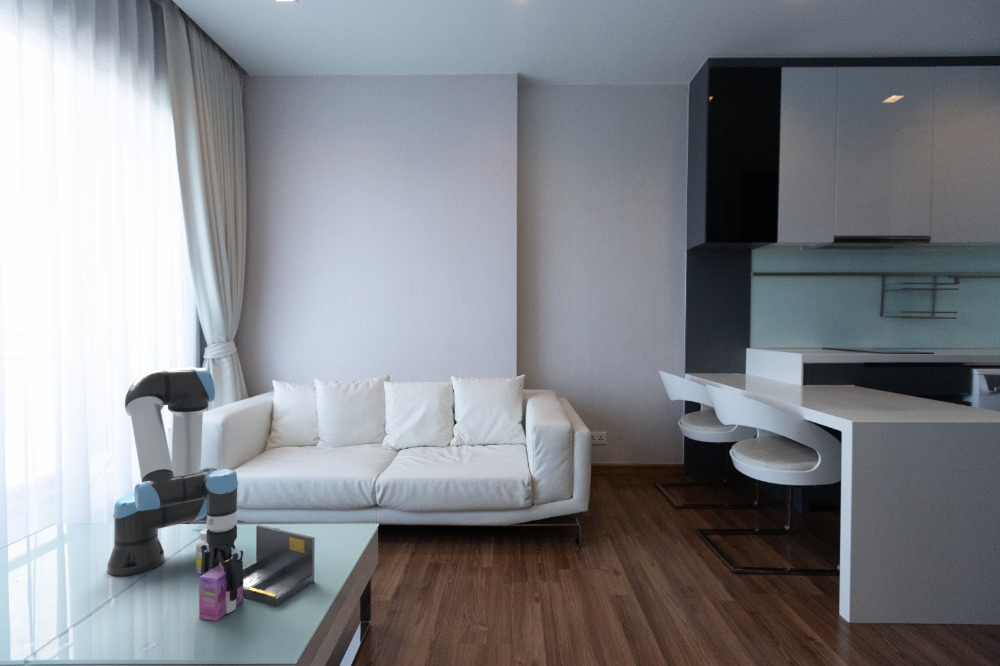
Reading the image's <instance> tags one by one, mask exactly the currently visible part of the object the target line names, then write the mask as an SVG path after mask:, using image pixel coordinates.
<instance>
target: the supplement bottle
mask: <svg viewBox="0 0 1000 666" xmlns="http://www.w3.org/2000/svg"><path fill="white" fill-rule="evenodd" d="M207 530H208V529H207V528H204V529H202V530H200V531H199V537H200V538H199V539H198V540H197V541H196V544H195V549H196V550H195V551H196V552H195V554H196V555H195V558H196V561H195V562H196V565H195V566H196V572H197V573H198V574H199V575H201V564H202V551H201V546H203V545H205V544H207Z"/></svg>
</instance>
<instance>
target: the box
mask: <svg viewBox="0 0 1000 666" xmlns="http://www.w3.org/2000/svg"><path fill="white" fill-rule="evenodd" d="M227 561H228V560H227ZM225 562H226V561H225ZM242 565H243V566H244V561H243V560H242ZM198 579H199V583H198V584H199V586H198V587H199V591H198V592H199V593H198V594H199V600H198V601H199V603H198V605H199V607H198V609H199V610H198V611H199V612H198V613H199V615H198V618H199V619H202V620H206V621H212V622H217V621H218V620H220V619H221V618H222V617H224V615H227V613H226V590H227V589H228V586H227V581H226V573H225V572H224V568H223V566H221V563H220V565H218V566H216V567H214V568H213V569H211V570H209V571H208V572H206V573H204V574H203V575H201V574H200V576H199V578H198ZM243 600H244V597H243V585H242V586H241V587H239V588H237V599H236V606H237V605H239V604H240V603H241V602H242V601H243Z"/></svg>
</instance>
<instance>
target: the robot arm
mask: <svg viewBox="0 0 1000 666" xmlns="http://www.w3.org/2000/svg"><path fill="white" fill-rule="evenodd" d="M215 396H216V389H215V383H214V379H213V375H212V374H211V372H210V371H209V369H208V368H205V367H184V368H181V367H180V368H170V369H169V368H168V369H153V370H151V371H150V370H149V371H148V372H144V373H143V374H142V375H140V376H139V377H138V378H136V379H135V380H134V381H133V383H132V384H131V385H130V386H129V388H128V391H127V392H126V394H125V397H124V398H125V399H124V407H125V412H126V414H127V415H128V416H129V417H131V425H132V431H133V437H134V441H135V449H136V455H137V460H138V467H139V472H140V473H139V474H140V479H141V482H139V483H136V484H135V486H134V490H133V492H130V493H127V494H125V495H123V496H122V497H120V498H119V499H117V500H116V501H115V504H114V509H113V515H112V516H113V519H114V523H113V525H114V530H113V531H114V533H113V534H114V535H113V538H114V541H113V543H114V544H113V548H112V551H111V553H110V556H109V560H108V561H107V569H106V570H107V573H108V574H109V575H112V576H114V577H115V576H116V577H117V576H118V577H124V576H133V575H137V574H142V573H145V572H147V571H150V570H152V569H154V568H157V567H158V566H160V565H161V564H162V563H163V562H164V560H165V551H164V548H163V545H162V544H161V541H160V538H159V530H160V529H164V528H168V527H172V526H176V525H181V524H182V525H183V524H185V523H192V522H195V521H197V520H201V519H203V518H204V517H206V529H208V530H207V544H205V545H203V546H201V551H202V564H201V574H200V576H201V575H203V574H204V573H206V572H208V571H209V570H211V569H213V568H214V567H216V566H218V565H220V563H221V566H223V568H224V572H225V573H226V581H227V586H228V589H227V590H226V615H227V614H228V615H229V614H230V613H231V612H233V611H235V610H236V609H237V605H236V599H237V588H239V587H241V586H242V585H243V584H244V583H243V568H244V564H243V565H242V561H243V557H244V551H243V550H240V551H239V550H237V549H236V546H235V541H236V540H237V539H238V538H237V537H238V525H237V524H238V487H239V480H238V474H237V471H235V470H233V469H228V468H224V469H222V468H221V469H217V468H215V467H204V468H202V442H203V441H202V440H203V420H204V419H203V418H204V415H203V414H204V412H205V411H206V410H207V409H209V403H211V402H214V400H215V398H216V397H215ZM164 406H167V410H168V411H169V412H170V413H172V438H171V439H172V440H171V454H170V448H169V444H168V439H167V434H166V429H165V424H164V420H163V415H162V409H163V408H164ZM201 468H202V469H201ZM227 560H228V561H227ZM225 561H226V562H225Z"/></svg>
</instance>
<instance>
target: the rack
mask: <svg viewBox="0 0 1000 666" xmlns="http://www.w3.org/2000/svg"><path fill="white" fill-rule="evenodd" d="M255 529H256V531H255V533H256V537H255V539H256V540H255V541H256V545H255V547H256V548H255V552H256V553H255V555H256V556H255V559H256V560H254V561H253V562H251V563H250V564H249V563H248V564H247V565H245V566H243V583H244V584H243V598H245V599H249V600H251V601H252V600H253V601H256V602H259V603H262V604H265V605H269V606H271V607H272V606H273V607H276V608H278V607H279V606H281V605H282V604H284V603H285V602H287V601H288V600H289V599H291V598H292V597H294V596H296V595H297V594H298V593H300V592H301V591H304V589H306V588H308V587H309V586H310V585H312V584H314V583H315V543H316V541H315V537H314V536H310V535H306V534H305V535H304V534H301V533H297V532H292V531H289V530H283V529H279V528H275V527H270V526H267V525H261V524H258V525H256V528H255Z"/></svg>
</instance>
